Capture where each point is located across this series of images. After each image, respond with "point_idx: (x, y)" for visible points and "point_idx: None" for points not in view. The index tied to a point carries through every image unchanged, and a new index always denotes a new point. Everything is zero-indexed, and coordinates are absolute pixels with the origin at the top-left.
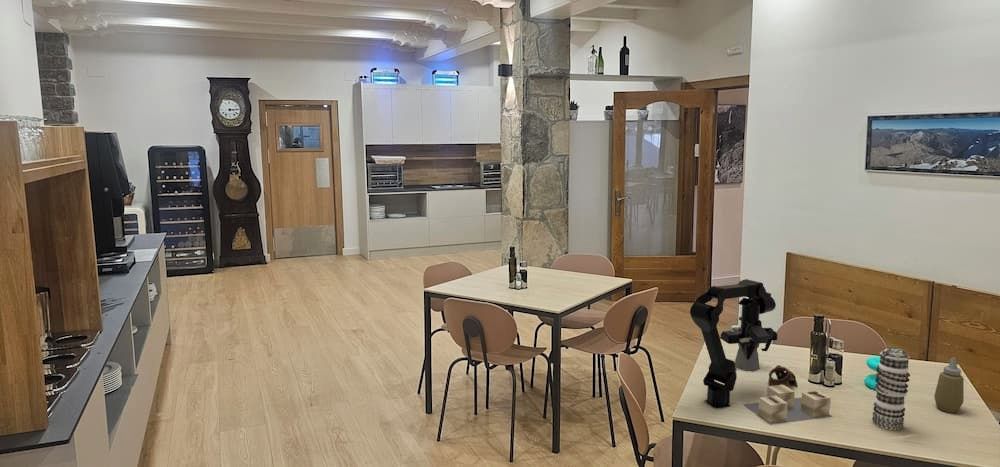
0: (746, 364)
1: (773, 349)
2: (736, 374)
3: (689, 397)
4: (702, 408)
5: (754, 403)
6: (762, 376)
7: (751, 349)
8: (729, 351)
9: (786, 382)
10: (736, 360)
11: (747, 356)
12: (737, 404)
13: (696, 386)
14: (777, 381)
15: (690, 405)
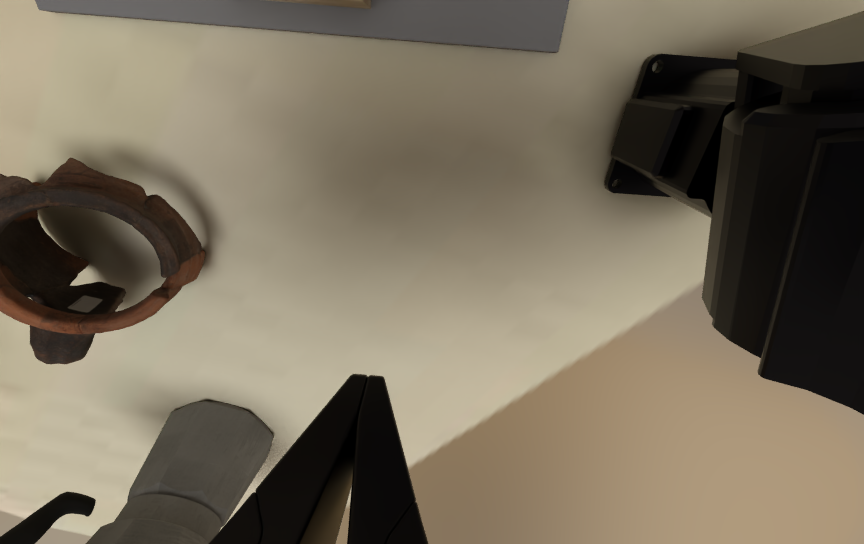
0: (230, 436)
1: None
2: (784, 112)
3: None
4: None
5: (461, 37)
6: (194, 351)
7: (290, 542)
8: None
9: (74, 176)
10: (256, 470)
11: (385, 411)
12: (558, 94)
13: (574, 352)
14: (142, 212)
15: None
